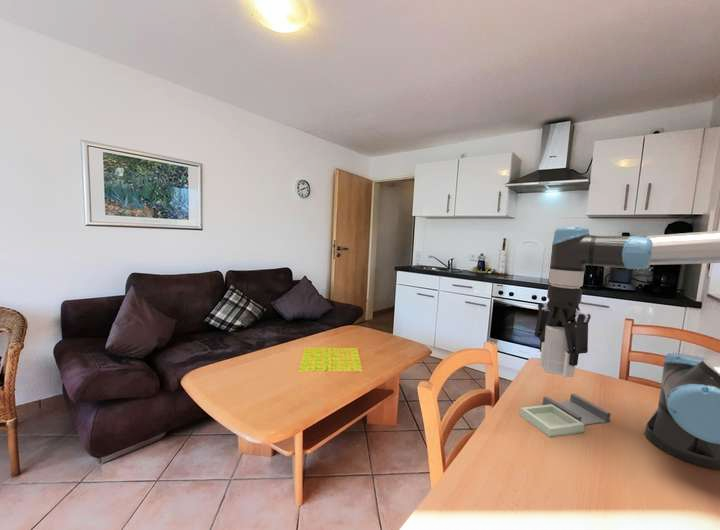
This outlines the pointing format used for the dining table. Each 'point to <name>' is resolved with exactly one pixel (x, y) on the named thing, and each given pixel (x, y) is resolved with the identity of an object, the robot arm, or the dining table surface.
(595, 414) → the tray
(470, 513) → the dining table surface
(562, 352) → the skincare box
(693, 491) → the dining table surface
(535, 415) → the tray
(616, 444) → the dining table surface
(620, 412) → the dining table surface
